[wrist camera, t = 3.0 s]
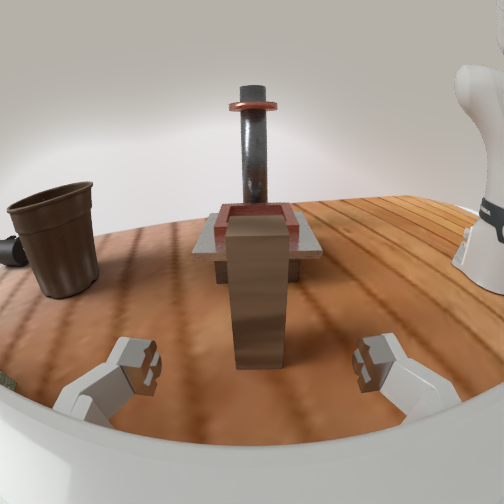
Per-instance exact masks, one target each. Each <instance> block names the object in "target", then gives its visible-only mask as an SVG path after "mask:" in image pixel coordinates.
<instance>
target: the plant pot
mask: <svg viewBox="0 0 504 504" xmlns="http://www.w3.org/2000/svg"><path fill="white" fill-rule="evenodd" d="M92 186H93V182H79V183H73V184H68V185H64V186H60V187H56V188H53V189H49V190H46V191H43V192H40V193H37V194H34V195H32V196H29V197H27V198H25V199H22V200H20V201H18V202H16V203H14V204H12V205H11V206H9V207H8V208H7V213H10V216H11V219H12V221H13V225H14V228H15V231H16V232H17V233H18V234H19V238H20V240H21V243H22V246H23V248H24V251H25V253H26V256H27V258H28V261H29V263H30V266H31V268H32V270H33V273H34V275H35V277H36V279H37V282H38V284H39V286H40V288H41V291H42V292H43V294H44V295H45V296H47V297H48V296H51V297H53V298H64V297H69V296H72V295H75V294H77V293H79V292H81V291H83V290H85V289H86V288H88V287H89V286H90V284H91V282H92V281H95V280H96V279H97V278H98V275H99V268H98V263H97V258H96V252H95V245H94V238H93V230H92V220H91V208H92V200H91V187H92Z"/></svg>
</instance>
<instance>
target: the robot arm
mask: <svg viewBox="0 0 504 504" xmlns="http://www.w3.org/2000/svg"><path fill="white" fill-rule="evenodd" d="M497 41H498V44H499V47H500V49H501V51H502V52H503V54H504V0H497ZM454 88H455V94H456V97H457V99H458V102H459V104H460V106H461V107H462V108H463V110H464V111H465V113H466V114H467V115H469V117H470V118H471V119H472V120H473V122H474V123H475V124H476V126H477V127H478V129H479V131H480V133H481V135H482V138H483V140H484V143H485V147H486V151H487V159H488V166H487V184H486V191H485V197H484V198H483V199H482V203H481V205H480V212H479V215H480V216H479V218H478V220H477V221H476V222H475V223H474V225H473V226H472V227H471V229H468V228H465V232H464V236H463V238H464V239H467V240H468V242H466V241H463V242H462V243H461V245H460V247H459V248H458V250H457V252H456V254H455V256H454V258H453V260H452V265H454V266H455V267H456V268H458V269H460V270H461V271H462V272H464V273H465V274H466V276H467V277H469V278H470V279H471V280H472V281H473V282H475V283H476V284H478V285H479V286H481V287H483V288H485V289H487V290H489V291H492V292H494V293H498V294H502V295H504V72H503V71H501V70H498V69H495V68H492V67H488V66H485V65H471V64H467V65H466V64H465V65H463V66H461V67H460V68H459V70H458V72H457V73H456V76H455V82H454ZM356 345H357V347H358V349H357V350H355V351H354V353H353V357H352V366H353V370H354V373H355V374H356V375H358V376H359V378H358V381H357V382H358V385H359V388H360V391H361V393H366V392H373V391H379V390H380V392H381V393H382V394H383V395H384V396H385V397H387V398H388V399H389V400H390V401H391V402H392V403H393V404H394V405H396V406H397V407H398V408H399V409H400V410H401V411H402V412H403V413H405V414H406V415H407V416H406V418H405V419H404V420H403V422H402V423H401V424H400V425H398V426H395V427H391V428H387V429H384V430H380V431H375V432H371V433H367V434H362V435H357V436H352V437H346V438H341V439H334V440H328V441H320V442H312V443H302V444H290V445H273V446H225V445H207V444H196V443H186V442H178V441H171V440H164V439H158V438H152V437H146V436H141V435H136V434H132V433H127V432H123V431H119V430H115V428H114V427H113V426H112V425H111V423H110V422H109V421H108V420H109V419H110V418H111V417H112V416H113V415H114V414H115V413H116V412H117V411H119V410H120V409H121V408H122V407H123V406H124V405H125V404H126V403H127V402H128V401H129V400H130V399H131V398H132V397H133V396H135V394H138V395H145V396H154V393H155V390H156V386H157V383H156V380H155V379H157V378H158V377H159V376H160V373H161V367H162V362H161V357H160V355H159V354H158V353H157V352H156V349H157V345H156V342H155V341H153V340H146V339H138V338H128V337H120V338H119V339H118V341H117V342H116V344H115V346H114V348H113V350H112V352H111V354H110V356H109V358H108V360H107V362H106V363H102V364H100V365H98V366H97V367H95V368H94V369H92V370H91V371H89V372H87V373H86V374H84V375H83V376H81V377H80V378H78V379H76V380H75V381H73V382H72V383H70V384H69V385H67V386H65V387H64V388H63V389H62V391H61V393H60V395H59V397H58V399H57V401H56V403H55V405H54V406H53V408H52V409H51V408H48V407H46V406H43V405H41V404H39V403H36V402H34V401H32V400H30V399H28V398H26V397H24V396H21V395H19V394H17V393H15V392H14V391H12V390H10V389H8V388H6V387H4V386H2V385H0V504H504V382H502V383H500V384H499V385H497V386H495V387H493V388H491V389H489V390H487V391H485V392H483V393H481V394H479V395H477V396H475V397H473V398H471V399H469V400H467V401H465V402H461V400H460V398H459V396H458V394H457V392H456V391H455V389H454V387H453V385H452V383H451V382H450V381H448V380H446V379H445V378H443V377H441V376H440V375H438V374H436V373H435V372H433V371H431V370H430V369H428V368H426V367H425V366H423V365H422V364H420V363H418V362H417V361H415V360H413V359H412V358H407V356H406V354H405V352H404V351H403V349H402V347H401V345H400V344H399V342H398V340H397V338H396V337H395V335H394V334H393V333H386V334H381V335H373V336H365V337H359V339H358V341H357V344H356Z"/></svg>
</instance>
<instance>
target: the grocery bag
mask: <svg viewBox="0 0 504 504" xmlns="http://www.w3.org/2000/svg"><path fill="white" fill-rule="evenodd" d="M16 384H17V383H16V382H14V381H13V380H12V379H11V378H9V377H8V376H7V375H6V374H5V373H3V372H2V371H1V370H0V385H2V386H4V387H6V388H8V389H10V390H12V391H13V390H14V388H15V386H16Z"/></svg>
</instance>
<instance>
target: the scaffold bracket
mask: <svg viewBox="0 0 504 504" xmlns="http://www.w3.org/2000/svg"><path fill="white" fill-rule="evenodd" d="M273 110H277V103H275V102H266V89H265V86H260V85H248V86H242V87H240V102H237V103H231V104H229V111H237V112H238V111H240V112H241V142H242V143H241V145H242V176H243V203H239V204H238V203H237V204H222V206H221V209H220V212H219V213H212V214H210V215H209V217H208V219H207V221H206V223H205V225H204V227H203V230H202V232H201V234H200V236H199V238H198V240H197V242H196V245H195V247H194V249H193V251H192V260H193V261H215V271H216V281H217V283H228V270H227V256H226V242H225V235H226V231H227V227H228V223H229V219H230V216H273V215H283V217H284V220H285V223H286V226H287V229H288V232H289V235H290V240H289V266H288V282H298V281H299V267H300V259H322V252H323V250H322V248H321V246H320V244H319V243H318V241H317V239H316V237H315V235H314V233H313V232H312V230H311V228H310V226H309V224H308V223H307V221H306V219H305V217H304V215H303V214H302V212H293V210H292V208H291V206H290V204H289V203H268V202H267V133H266V132H267V130H266V111H273Z"/></svg>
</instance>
